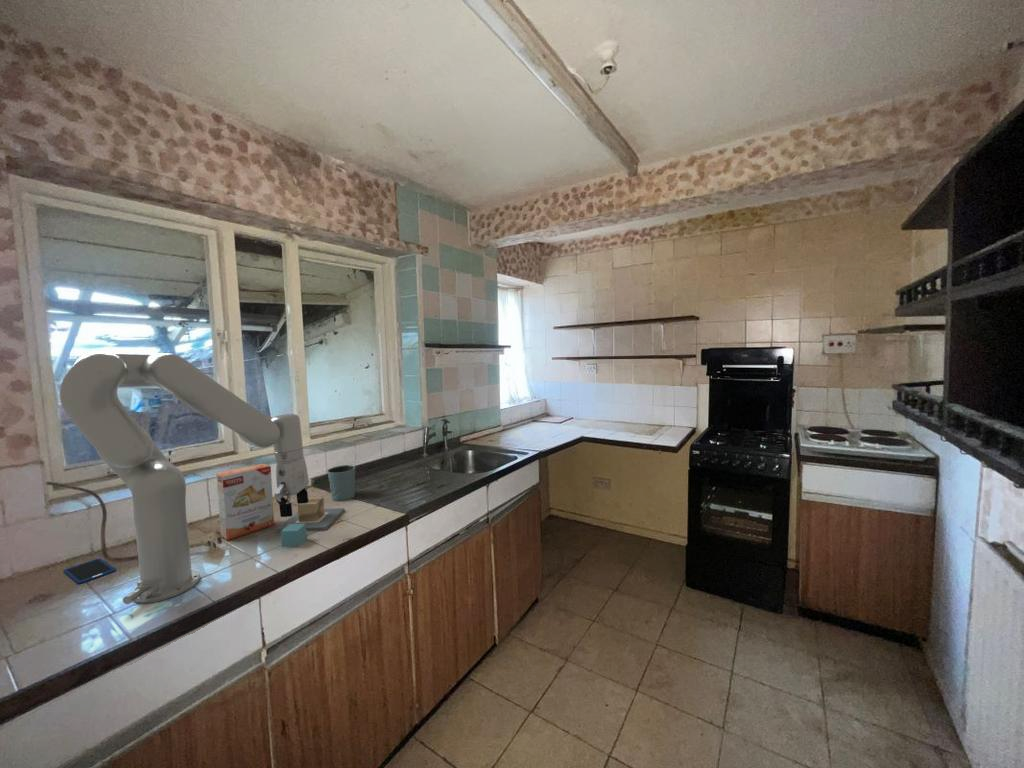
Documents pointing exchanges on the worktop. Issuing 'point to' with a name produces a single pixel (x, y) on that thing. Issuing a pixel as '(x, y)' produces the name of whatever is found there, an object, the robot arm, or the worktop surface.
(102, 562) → the cell phone
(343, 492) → the blue cup
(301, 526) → the teal cube
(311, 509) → the oak cube
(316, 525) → the board
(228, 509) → the cracker box
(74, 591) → the worktop surface
